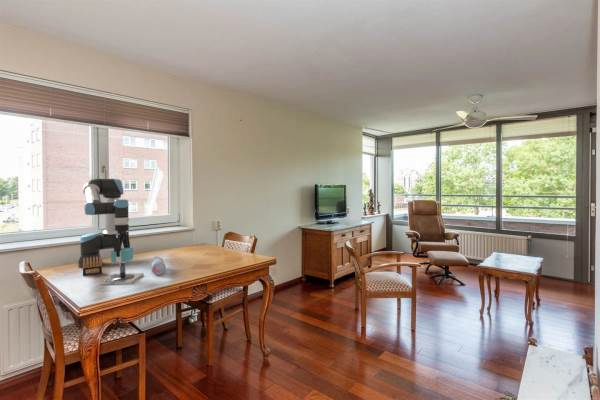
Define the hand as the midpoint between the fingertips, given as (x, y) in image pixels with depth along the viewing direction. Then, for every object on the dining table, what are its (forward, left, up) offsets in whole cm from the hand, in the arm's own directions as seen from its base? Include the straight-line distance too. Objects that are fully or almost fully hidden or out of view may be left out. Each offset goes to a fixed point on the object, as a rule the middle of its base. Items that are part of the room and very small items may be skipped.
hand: (122, 260), depth 193 cm
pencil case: (-16, +16, -13) cm, 26 cm away
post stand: (0, 0, -13) cm, 13 cm away
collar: (0, 0, 0) cm, 0 cm away
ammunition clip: (-14, -25, -13) cm, 32 cm away
